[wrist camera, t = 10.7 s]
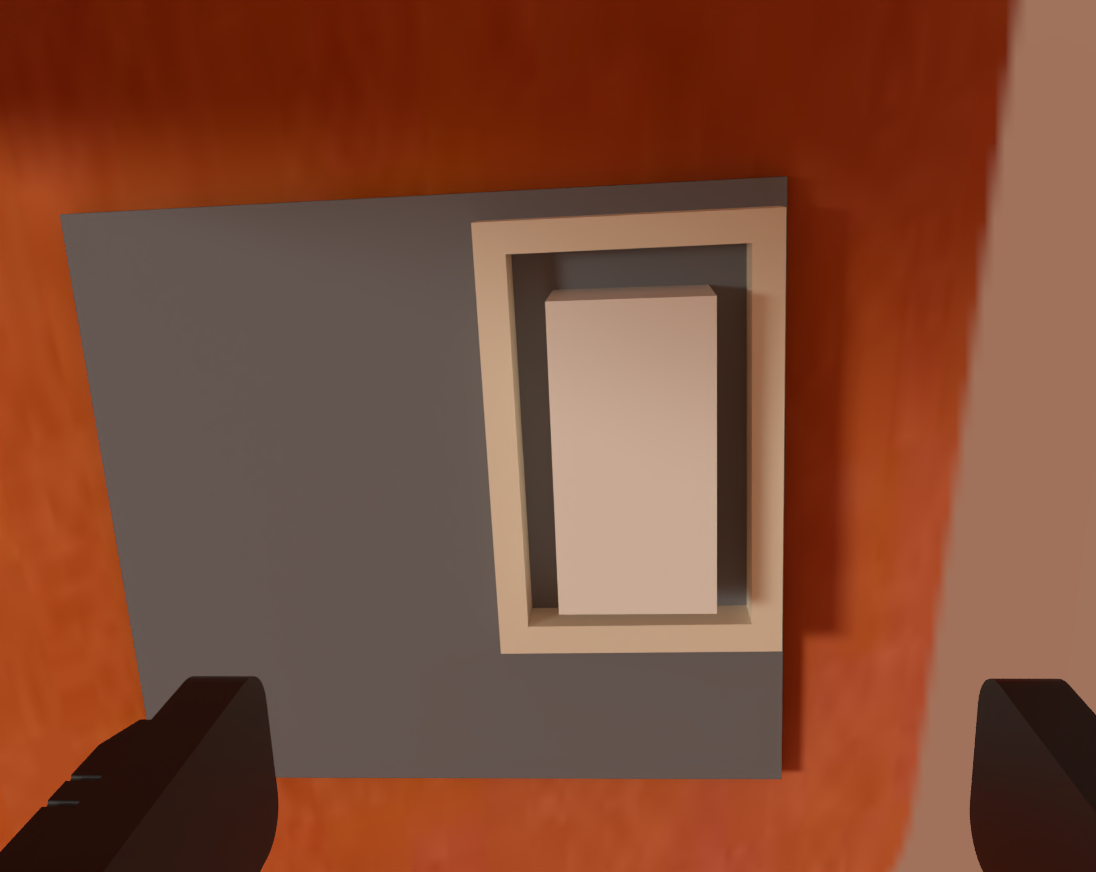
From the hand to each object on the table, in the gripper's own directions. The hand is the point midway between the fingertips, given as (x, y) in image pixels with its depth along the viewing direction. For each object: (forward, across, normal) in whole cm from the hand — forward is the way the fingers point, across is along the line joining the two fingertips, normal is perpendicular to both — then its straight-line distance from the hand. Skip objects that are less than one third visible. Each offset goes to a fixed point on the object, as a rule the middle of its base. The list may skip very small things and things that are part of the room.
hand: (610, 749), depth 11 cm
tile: (+16, 0, 0) cm, 16 cm away
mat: (+16, +5, +2) cm, 17 cm away
